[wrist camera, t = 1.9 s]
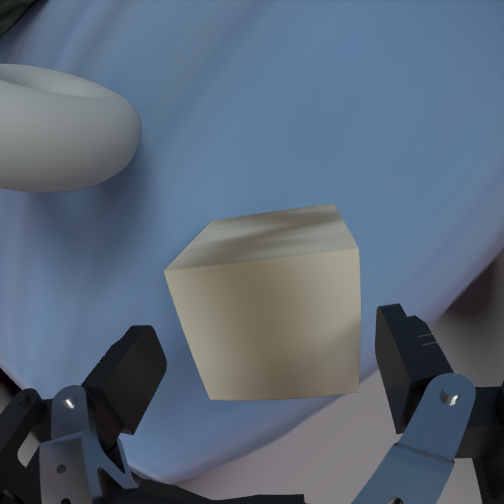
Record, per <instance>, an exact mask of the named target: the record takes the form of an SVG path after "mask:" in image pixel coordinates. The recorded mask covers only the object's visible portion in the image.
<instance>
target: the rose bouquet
mask: <svg viewBox="0 0 504 504" xmlns="http://www.w3.org/2000/svg"><path fill="white" fill-rule="evenodd" d="M32 1H35V0H0V36H1V35H2V34H3V33H5V32H6V31H7V30H8V29H9V28H10V27H11V26H12V25H13V24H14V23H15V22H16V21H17V20H18V19H19V18H20V17H21V15H22V14H23V13H24V12H25V11H26V9H27V7H28V6H29V5H30V3H31V2H32Z"/></svg>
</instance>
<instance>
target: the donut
mask: <svg viewBox="0 0 504 504" xmlns="http://www.w3.org/2000/svg"><path fill="white" fill-rule="evenodd" d="M140 136H141V121H140V118H139V116H138V114H137V111H136V110H135V109H134V107H133V106H132V105H131V104H130V103H129V102H128V101H127V99H126V98H125V97H123V96H121V95H120V94H118V93H117V92H115V91H113V90H111V89H108V88H106V87H104V86H102V85H100V84H97V83H95V82H92V81H90V80H87V79H84V78H81V77H78V76H75V75H71V74H68V73H64V72H60V71H56V70H51V69H47V68H41V67H35V66H29V65H19V64H0V188H3V189H10V190H17V191H24V192H31V193H33V192H68V191H73V190H78V189H83V188H88V187H93V186H95V185H97V184H99V183H102V182H104V181H106V180H107V179H109V178H111V177H113V176H114V175H116V174H118V173H120V172H121V171H122V170H123V169H124V168H125V167H126V166H128V165H129V163H130V161H131V160H132V158H133V156H134V155H135V153H136V150H137V147H138V144H139V140H140Z"/></svg>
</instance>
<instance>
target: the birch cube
mask: <svg viewBox="0 0 504 504" xmlns="http://www.w3.org/2000/svg"><path fill="white" fill-rule="evenodd" d="M164 274H165V277H166V280H167V283H168V287H169V290H170V293H171V296H172V299H173V302H174V305H175V308H176V311H177V314H178V317H179V320H180V323H181V325H182V328H183V331H184V334H185V337H186V339H187V342H188V345H189V348H190V350H191V353H192V356H193V358H194V361H195V363H196V366H197V369H198V371H199V374H200V376H201V379H202V381H203V384H204V386H205V388H206V391H207V393H208V396H209V398H210V400H281V399H298V398H312V397H323V396H332V395H341V394H349V393H356V392H358V385H359V367H360V338H361V290H360V261H359V248H358V246H357V244H356V242H355V240H354V238H353V236H352V235H351V233H350V231H349V229H348V227H347V226H346V224H345V222H344V220H343V218H342V217H341V215H340V213H339V211H338V210H337V208H336V206H335V205H334V204H328V205H320V206H312V207H304V208H297V209H289V210H282V211H274V212H267V213H260V214H253V215H247V216H240V217H233V218H227V219H220V220H214V221H211V222H210V223H209V224H208V225H207V226H206V227H205V228H204V229H203V230H202V231H201V232H200V233H199V234H198V235H197V236H196V237H195V238H194V239H193V240H192V241H191V243H190V244H189V245H188V246H187V247H186V248H185V249H184V250H183V251H182V252H181V253H180V254H179V255H178V256H177V257H176V258H175V259H174V261H173V262H172V263H171V264H170V265H169V266H168V267H167V268H166V269H165V270H164Z"/></svg>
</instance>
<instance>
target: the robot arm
mask: <svg viewBox="0 0 504 504" xmlns="http://www.w3.org/2000/svg"><path fill="white" fill-rule="evenodd" d="M375 353H376V359H377V363H378V366H379V370H380V373H381V377H382V380H383V383H384V387H385V391H386V394H387V398H388V402H389V406H390V409H391V413H392V417H393V421H394V425H395V429H396V434H401V433H403V435H402V436H401V438H400V440H399V441H398V443H395V444H394V445H393V446H392V447H391V449H390V450H389V452H388V453H387V454H386V456H385V458H384V459H383V460H382V462H381V464H380V465H379V467H378V468H377V469H376V471H375V472H374V474H373V475H372V477H371V478H370V479H369V481H368V482H367V483H366V485H365V486H364V487H363V489H362V490H361V492H360V493H359V494H358V495H357V497H356V498H355V499H354V501H353V502H352V503H351V504H436V502H437V500H438V499H439V497H440V495H441V493H442V491H443V489H444V487H445V485H446V483H447V481H448V478H449V476H450V474H451V472H452V469H453V467H454V463H455V461H454V458H472V460H473V464H474V468H475V472H476V476H477V480H478V484H479V489H480V494H481V499H482V504H504V381H503V383H502V386H500V387H474V385H473V383H472V382H471V381H470V380H469V379H468V378H466V377H465V376H462V375H460V374H455V373H454V372H453V370H452V368H451V366H450V364H449V363H448V361H447V359H446V357H445V355H444V353H443V352H442V350H441V348H440V347H439V345H438V343H436V340H435V338H434V336H433V335H432V333H431V331H430V329H429V328H428V326H427V324H426V323H425V322H424V321H422V320H421V319H419V318H418V317H416V316H409V317H407V316H406V314H405V312H404V310H403V309H402V307H401V305H400V304H399V303H398V304H392V305H385V306H379V307H378V308H377V314H376V336H375ZM166 368H167V361H166V357H165V355H164V352H163V350H162V347H161V345H160V342H159V340H158V337H157V335H156V332H155V330H154V328H153V327H152V326H150V325H139V326H131V327H130V328H129V330H128V331H127V332H126V333H125V335H124V336H123V337H122V338H121V339H120V340H119V341H117V342H116V343H115V344H113V345H112V346H111V347H110V349H109V350H108V351H107V352H106V354H105V356H103V357H102V359H101V360H100V363H98V364H97V365H96V366H95V368H94V369H93V370H92V372H91V373H90V374H89V375H88V377H87V378H86V379H85V381H84V382H83V383H82V385H81V386H79V385H71V386H68V387H65V388H63V389H62V390H60V391H59V392H58V393H57V394H56V395H55V396H54V398H53V399H46V400H42V398H41V397H40V395H39V394H38V392H37V391H36V390H35V389H32V388H29V389H25V390H22V391H20V392H19V393H18V394H17V395H15V397H14V398H13V399H12V400H11V401H10V403H9V404H8V405H7V406H6V408H5V409H4V410H3V412H2V413H1V414H0V504H307V503H305V501H304V494H299V495H298V494H296V495H254V496H248V497H241V498H234V499H226V500H210V499H207V498H205V497H202V496H199V495H197V494H194V493H192V492H189V491H187V490H185V489H182V488H180V487H178V486H174V485H169V484H164V483H159V482H154V481H150V480H146V479H142V480H141V483H140V485H139V487H137V486H136V485H135V483H134V481H133V479H132V476H131V473H130V469H129V466H128V463H127V460H126V456H125V453H124V449H123V446H122V442H121V440H120V439H119V438H118V436H119V434H120V433H125V434H130V435H134V433H135V431H136V429H137V427H138V425H139V423H140V421H141V419H142V417H143V415H144V413H145V411H146V409H147V407H148V405H149V403H150V401H151V399H152V398H153V396H154V394H155V392H156V390H157V388H158V386H159V384H160V382H161V380H162V378H163V376H164V374H165V372H166ZM29 433H31V434H32V436H33V437H34V438H35V439H36V440H37V441H38V442H39V444H40V445H39V447H38V449H37V450H36V452H35V453H34V455H33V457H32V458H31V460H30V462H29V463H28V465H27V467H25V466H23V465H22V464H21V463H20V461H19V460H18V456H17V453H18V450H19V448H20V446H21V445H22V443H23V442H24V440H25V439H26V437H27V436H28V434H29Z"/></svg>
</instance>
